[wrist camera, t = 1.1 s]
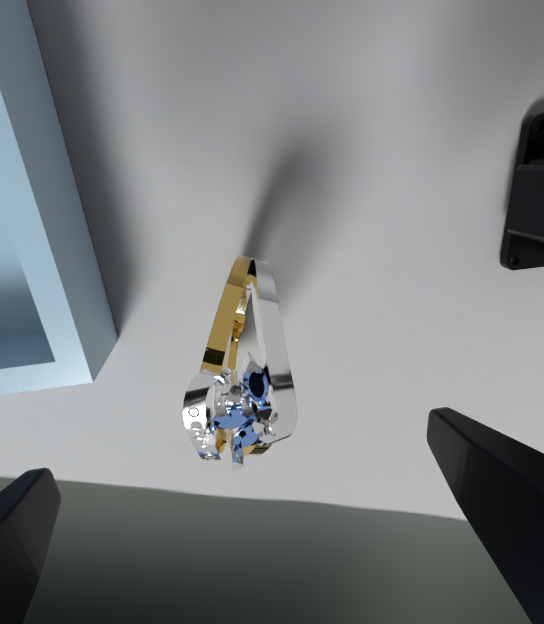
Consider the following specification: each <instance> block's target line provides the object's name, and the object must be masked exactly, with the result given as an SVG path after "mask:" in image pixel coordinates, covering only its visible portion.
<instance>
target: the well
mask: <svg viewBox="0 0 544 624" xmlns="http://www.w3.org/2000/svg"><path fill="white" fill-rule="evenodd" d="M117 341H118V336H117V332H116V328H115V325H114V321H113V317H112V314H111V310H110V306H109V303H108V299H107V295H106V292H105V288H104V284H103V281H102V277H101V273H100V270H99V266H98V262H97V259H96V255H95V251H94V248H93V244H92V240H91V236H90V233H89V229H88V225H87V222H86V218H85V214H84V211H83V207H82V203H81V200H80V196H79V192H78V189H77V185H76V181H75V178H74V174H73V170H72V167H71V163H70V159H69V155H68V152H67V148H66V144H65V141H64V137H63V133H62V130H61V126H60V122H59V119H58V115H57V111H56V108H55V104H54V100H53V97H52V93H51V89H50V86H49V82H48V78H47V74H46V71H45V67H44V63H43V60H42V56H41V52H40V49H39V45H38V41H37V38H36V34H35V30H34V27H33V23H32V19H31V16H30V12H29V8H28V5H27V1H26V0H0V395H2V394H10V393H17V392H24V391H32V390H39V389H47V388H54V387H61V386H69V385H76V384H83V383H91V382H94V380H95V378H96V377H97V375H98V373H99V371H100V370H101V368H102V366H103V365H104V363H105V361H106V360H107V358H108V356H109V355H110V353H111V351H112V350H113V348H114V346H115V344H116V343H117Z"/></svg>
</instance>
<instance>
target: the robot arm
mask: <svg viewBox="0 0 544 624" xmlns="http://www.w3.org/2000/svg"><path fill="white" fill-rule="evenodd" d="M537 123H538V124H539V128H538V131H537V132H535V126H536V124H537ZM514 255H515V258H514V260H513V261H512V262H511V259H512V257H513V256H514ZM500 263H501V265H502V266H503V267H504V268H507V269H510V270H520V269H528V268H536V267H544V113H541V114H535V115H532V116H530V117H529V118H527V119H526V121H525V122H524V124H523V127H522V130H521V136H520V142H519V148H518V154H517V160H516V166H515V172H514V178H513V184H512V190H511V196H510V202H509V208H508V214H507V220H506V226H505V232H504V238H503V244H502V250H501V256H500ZM427 442H428V445H429V447H430V449H431V451H432V453H433V455H434V457H435V459H436V461H437V463H438V465H439V467H440V469H441V471H442V473H443V475H444V477H445V479H446V481H447V483H448V485H449V487H450V489H451V491H452V493H453V495H454V497H455V499H456V501H457V503H458V505H459V506H460V508H461V510H462V512H463V513H464V515H465V517H466V518H467V520H468V521H469V523H470V524H471V526H472V528H473V529H474V531H475V533H476V534H477V536H478V537H479V539H480V541H481V542H482V544H483V545H484V547H485V548H486V550H487V552H488V553H489V555H490V557H491V558H492V560H493V562H494V563H495V565H496V566H497V568H498V569H499V571H500V573H501V574H502V576H503V578H504V579H505V581H506V582H507V584H508V585H509V587H510V589H511V590H512V592H513V593H514V595H515V597H516V598H517V600H518V602H519V603H520V605H521V606H522V608H523V609H524V611H525V613H526V615H527V616H528V618H529V619H530V621H531V623H532V624H544V453H542V452H540V451H537V450H535V449H533V448H531V447H529V446H527V445H525V444H523V443H521V442H519V441H517V440H515V439H513V438H511V437H508V436H506V435H504V434H502V433H500V432H498V431H496V430H494V429H492V428H490V427H488V426H486V425H484V424H482V423H479V422H477V421H475V420H473V419H471V418H469V417H467V416H465V415H463V414H461V413H459V412H457V411H455V410H453V409H450V408H448V407H443V408H436V409H432V410H431V411H430V412H429V418H428V427H427ZM60 504H61V495H60V491H59V489H58V487H57V484H56V482H55V479H54V477H53V475H52V472H51V471H50V470H49V469H48V468H40V469H33V470H29V471H26V472H25V473H24V474H22V475H21V476H20V477H19V478H17V479H16V480H15V481H14V482H12V483H11V484H10V485H8V486H7V487H6V488H5V489H3V490H2V491H1V492H0V624H23V623H24V621H25V618H26V615H27V613H28V610H29V607H30V604H31V602H32V599H33V597H34V594H35V591H36V588H37V586H38V583H39V580H40V577H41V574H42V570H43V567H44V563H45V559H46V556H47V552H48V548H49V545H50V541H51V537H52V534H53V530H54V526H55V522H56V519H57V515H58V512H59V508H60Z"/></svg>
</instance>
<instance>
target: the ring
mask: <svg viewBox="0 0 544 624" xmlns="http://www.w3.org/2000/svg"><path fill="white" fill-rule="evenodd" d="M251 292H252V302H253V311H254V318H255V325H256V332H257V338H258V344H259V350H260V355H261V360H262V365H263V367H262V366H261V364H260V363H259V361H258V359H257V357H256V356H255V355H253V354H252V353H250V352H248V351H247V353H246V354H245V356H244V359H243V365H244V368H243V379H242V378H241V377H240V373H239V372H238V371H237V370H235V365H236V355H237V348H238V342H239V336H240V332H242V331H243V327H244V323H245V319H246V315H245V311H246V307H247V304H248V300H249V297H250V294H251ZM212 389H213V392H212V401H211V408H210V394H211V391H212ZM268 393H269V397H270V401H269V399H268V396H267V394H268ZM270 403H271V404H270ZM271 412H272V416H271V421H270V420H268V419H269V417H270V415H271ZM183 415H184V422H185V426H186V429H187V432H188V435H189V437H190V439H191V441H192V443H193V445H194V447H195V449H196V450H197V452H198V454H199V456H200V457H201V458H202V459H203V460H214V461H223V457H224V452H225V446H226V440H228V443H229V445H230V447H231V457H232V469H233V470H236V469H240V468H243V467H244V457H243V456H258V455H261V454H263V453H264V452H265V451H267V450H268V449H269V447H270V446H271V445H272V444H273V443H275V442H278V441H281V440H283V439H286V438H288V437H289V436H291V435H292V433H293V432H294V430H295V428H296V424H297V417H298V411H297V402H296V396H295V390H294V385H293V381H292V376H291V371H290V366H289V361H288V355H287V350H286V344H285V338H284V333H283V327H282V321H281V315H280V310H279V304H278V299H277V293H276V288H275V283H274V278H273V273H272V270H271V267H270V265H269V263H268V262H265V261H261V260H258V259H254V258H252V259H251V258H249V257H244V256H240V255H238V256H237V258H236V260H235V262H234V264H233V267H232V269H231V272H230V275H229V277H228V280H227V283H226V286H225V289H224V291H223V294H222V297H221V301H220V304H219V307H218V310H217V313H216V316H215V320H214V323H213V326H212V330H211V333H210V336H209V340H208V343H207V347H206V351H205V354H204V358H203V362H202V365H201V369H200V372H199V373H198V374H197V375H196V376H195V377H194V378H193V380H192V381H191V383H190V385H189V386H188V389H187V391H186V394H185V398H184V405H183Z"/></svg>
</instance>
